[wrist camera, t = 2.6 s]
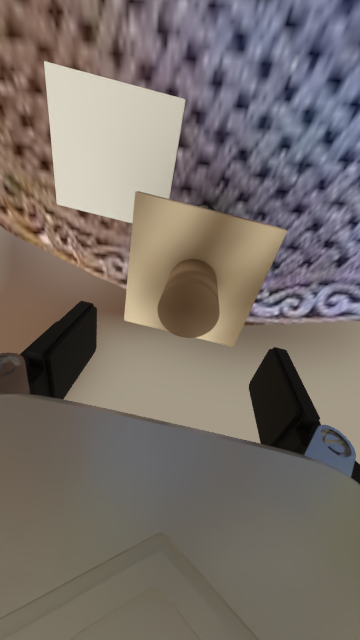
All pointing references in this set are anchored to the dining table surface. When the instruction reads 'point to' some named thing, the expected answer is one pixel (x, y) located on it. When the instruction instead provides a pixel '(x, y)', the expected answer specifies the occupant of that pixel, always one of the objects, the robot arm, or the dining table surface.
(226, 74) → the dining table surface
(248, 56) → the dining table surface
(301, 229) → the dining table surface
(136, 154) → the white flat block
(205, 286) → the wooden lid
